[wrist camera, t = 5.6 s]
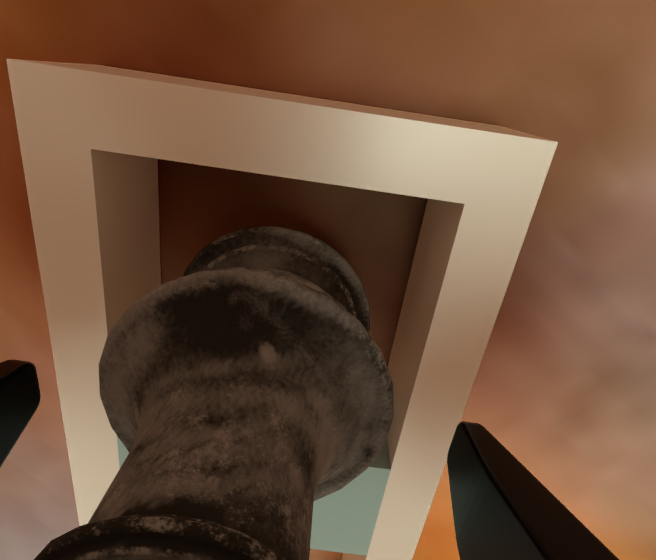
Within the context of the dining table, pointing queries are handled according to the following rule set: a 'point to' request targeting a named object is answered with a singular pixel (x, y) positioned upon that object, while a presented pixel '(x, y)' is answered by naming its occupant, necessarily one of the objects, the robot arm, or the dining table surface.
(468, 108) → the dining table surface
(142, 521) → the salt shaker
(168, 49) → the dining table surface
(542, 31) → the dining table surface
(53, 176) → the housing
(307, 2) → the dining table surface
